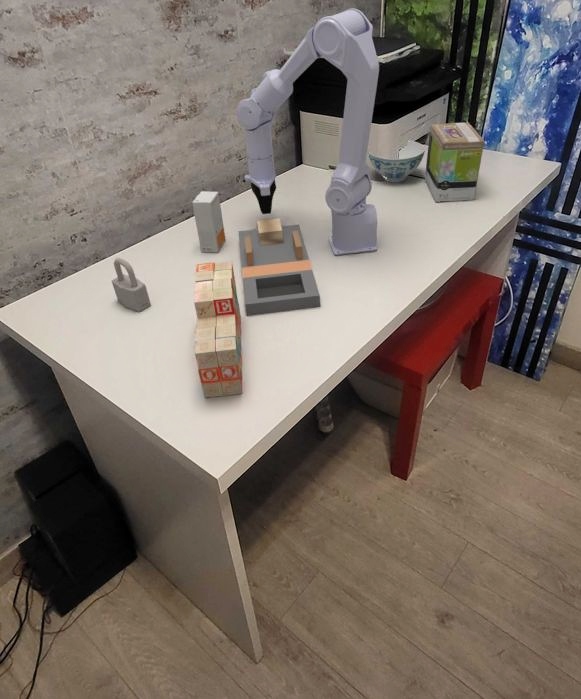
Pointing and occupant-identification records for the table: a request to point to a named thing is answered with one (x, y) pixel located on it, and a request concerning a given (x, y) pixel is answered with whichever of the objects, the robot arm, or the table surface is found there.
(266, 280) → the tunnel deck
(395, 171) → the chinaware
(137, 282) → the padlock
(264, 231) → the birch block
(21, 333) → the table surface
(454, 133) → the tea box
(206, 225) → the skincare box
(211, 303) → the stack of blocks
